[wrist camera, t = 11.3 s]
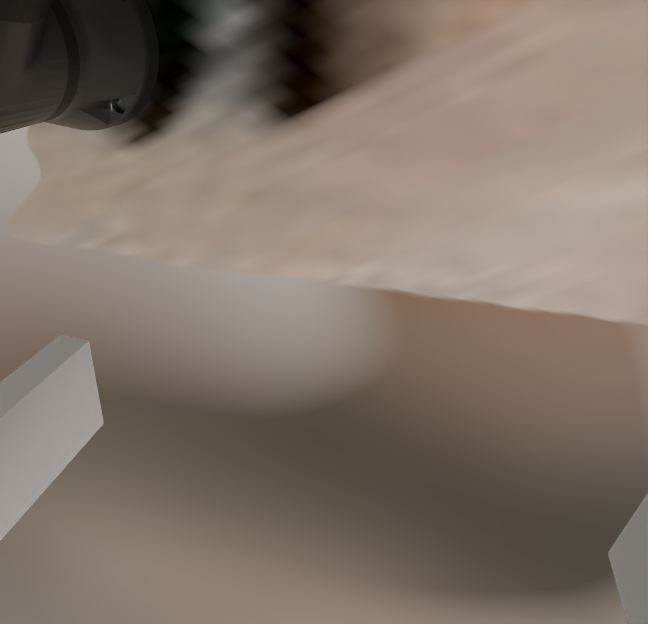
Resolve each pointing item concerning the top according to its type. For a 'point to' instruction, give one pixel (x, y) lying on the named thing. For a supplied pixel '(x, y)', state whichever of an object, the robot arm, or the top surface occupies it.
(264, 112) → the top surface
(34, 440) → the robot arm
